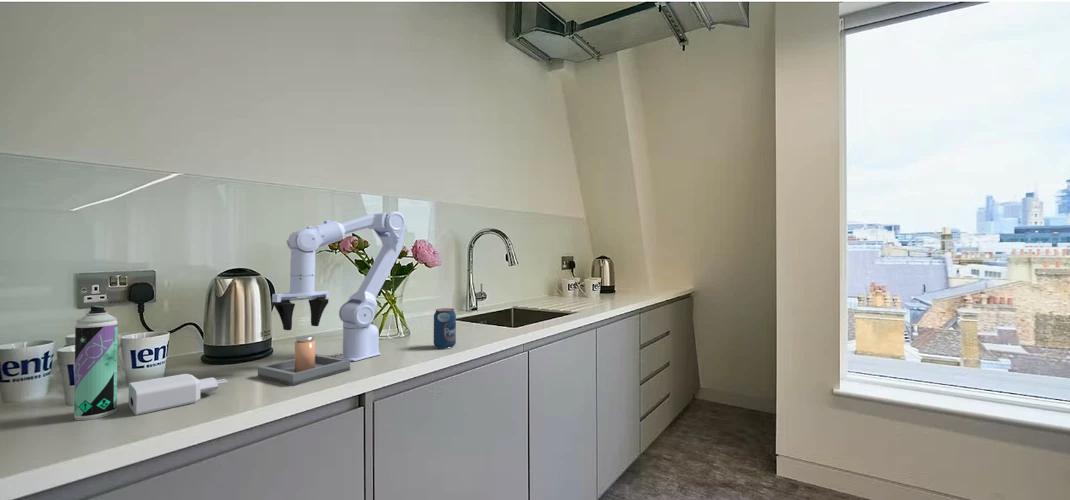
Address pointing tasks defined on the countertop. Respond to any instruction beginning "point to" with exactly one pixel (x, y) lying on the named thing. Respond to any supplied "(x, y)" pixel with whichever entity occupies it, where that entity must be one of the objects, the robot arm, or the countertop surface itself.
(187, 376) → the charger
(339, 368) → the tray
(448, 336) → the soda can
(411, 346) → the countertop surface
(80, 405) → the spray can
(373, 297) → the robot arm
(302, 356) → the cylinder
